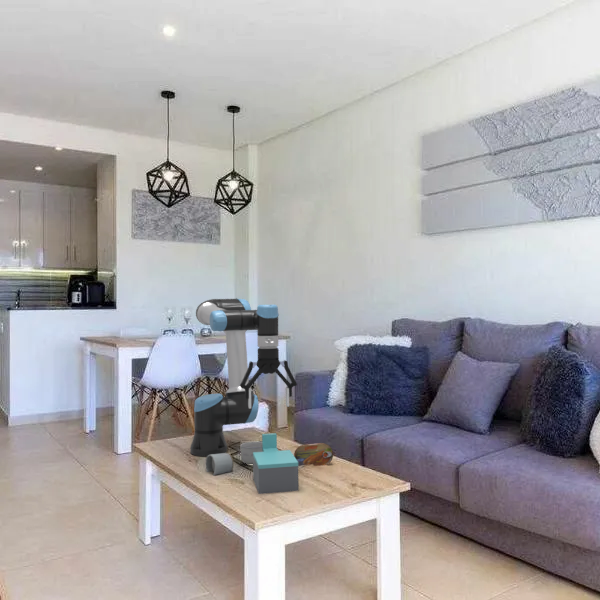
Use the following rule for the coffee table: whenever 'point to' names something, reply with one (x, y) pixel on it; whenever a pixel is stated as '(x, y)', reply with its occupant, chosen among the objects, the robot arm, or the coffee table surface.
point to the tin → (314, 454)
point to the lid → (273, 454)
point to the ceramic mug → (219, 463)
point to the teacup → (250, 451)
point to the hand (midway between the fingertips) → (268, 407)
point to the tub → (275, 479)
